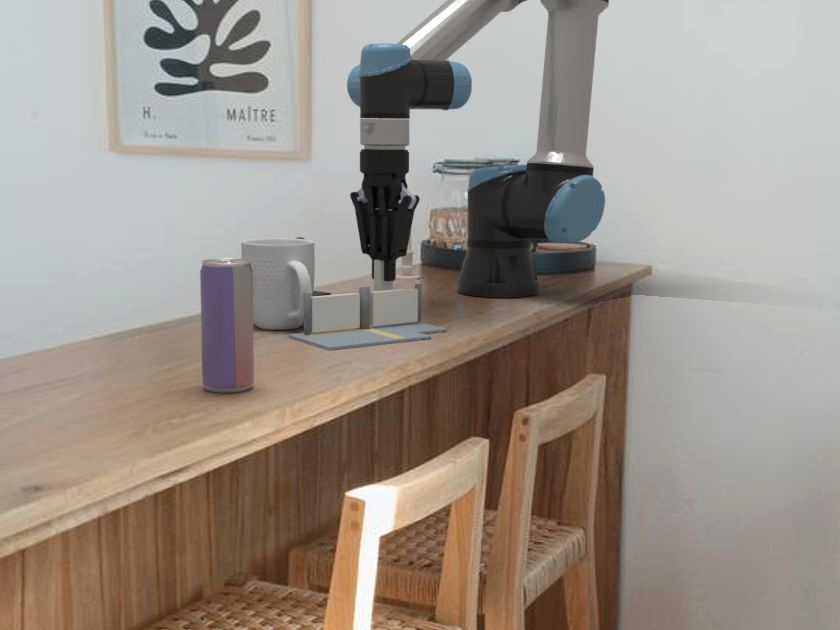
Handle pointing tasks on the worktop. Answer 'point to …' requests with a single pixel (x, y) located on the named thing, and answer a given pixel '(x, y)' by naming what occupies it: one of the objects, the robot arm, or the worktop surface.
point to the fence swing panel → (395, 306)
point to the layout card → (368, 335)
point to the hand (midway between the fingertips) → (383, 301)
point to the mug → (280, 280)
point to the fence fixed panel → (337, 311)
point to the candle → (407, 265)
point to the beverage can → (227, 325)
